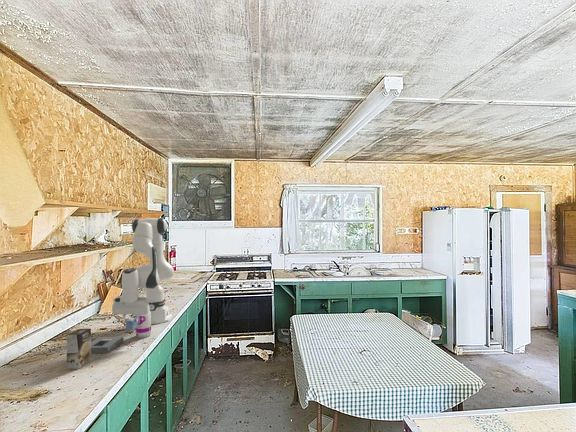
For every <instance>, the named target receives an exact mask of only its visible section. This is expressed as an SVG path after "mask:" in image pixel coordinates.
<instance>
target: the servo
mask: <svg viewBox="0 0 576 432" xmlns="http://www.w3.org/2000/svg"><path fill="white" fill-rule="evenodd" d="M135 318H136V317H130V318H129V319H128V320H127V321H126V322H125V324H124V326H125V330H129V331H130V330H132V331H133V330H136V327H137V326H138V322H134V321H135V320H134V319H135ZM138 321H139V320H138Z"/></svg>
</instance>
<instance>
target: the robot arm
mask: <svg viewBox="0 0 576 432" xmlns="http://www.w3.org/2000/svg"><path fill="white" fill-rule="evenodd" d="M131 223H132V224H131V229H132V230H131V231H132V232H133V233H134V234H133V238H132V248H133V249H134V251H136V252H137V253H138V254H141V255H143V256H146V257H147V258H148V260H149V263H148V264H141V265H138V266H137V267H136V268H134V267H129V268H125V269H124V270H123V271H122V275H121V287H122V291H121V294H120V295H118V296H115V297H114V298H113V299H112V301H113V303H112V306H111V307H112V308H111V309H112V310H111V313H112V314H113V315H114V316H115V315H116V316H117V315H122V318H123V319H124V322H125V323H126V321H127V320H128V319H130V318H129V317H127V315H135V317H134V318H135V319H134V320H135V321H134V322H138V318H139V316H140V314H147V313H149V311H150V312H151V325H156V324H157V325H158V324H161V323H167V322H169V321H170V320H171V319H172V317H173V313H170V309H169V307H168V306H166V301H167V299H166V298H164V297H165V295H164V294H165V293H164V290H165V289H164V288H163V287H162V286H161V285H159V284H160V281H166V280H170V279H172V278H173V276H174V273H175V268H174V267H173V265H171V264H170V263H169V262H168V261H167V259H166V257H165V255H164V244H163V243H164V242H163V241H164V238H163V235H164V234H165V233H166V232H167V230H168V222H167V220H166V219H165V218H163V217H147V218H136V219H134V220H133V221H132V222H131ZM139 289H145V290H144V291H145V296H144V297H140V290H139ZM136 316H137V317H136Z"/></svg>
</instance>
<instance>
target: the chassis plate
mask: <svg viewBox="0 0 576 432" xmlns="http://www.w3.org/2000/svg"><path fill="white" fill-rule="evenodd" d="M124 341H125V339H124V336H99V337H97V338H95V339H93V340H91V354H109V353H110V352H112V351H113V350H114V349H116V348H117V347H119V346H120V345H121V344H123V343H124Z"/></svg>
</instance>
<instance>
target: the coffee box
mask: <svg viewBox="0 0 576 432" xmlns="http://www.w3.org/2000/svg"><path fill="white" fill-rule="evenodd" d="M91 342H92V328H78V329H76V330H74V331H71V332H69V333H67V334H66V369H68V370H71V369H72V370H73V369H75V370H76V369H77V370H79V369H81V368H83V367H84V366H86V365H87V364H89V363H90V362H92V353H91Z"/></svg>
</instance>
